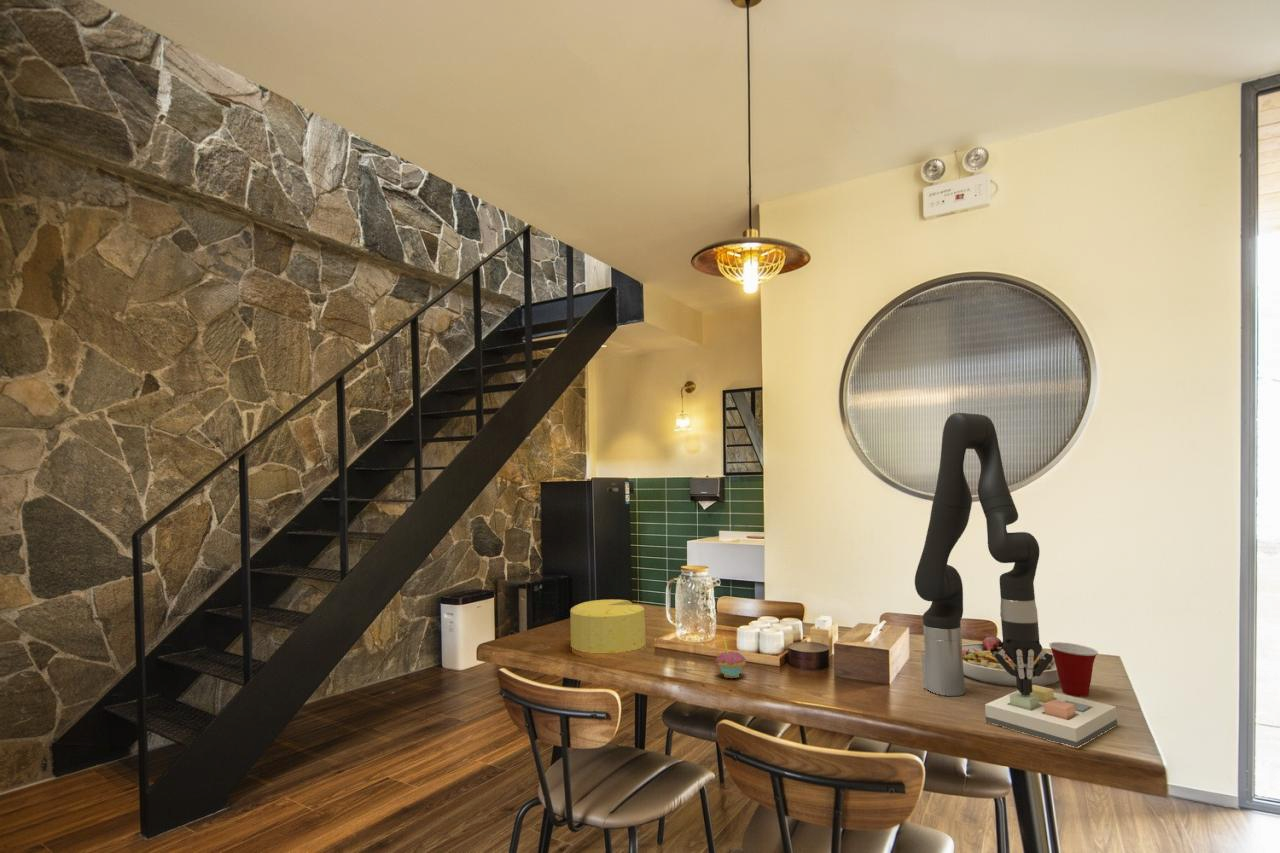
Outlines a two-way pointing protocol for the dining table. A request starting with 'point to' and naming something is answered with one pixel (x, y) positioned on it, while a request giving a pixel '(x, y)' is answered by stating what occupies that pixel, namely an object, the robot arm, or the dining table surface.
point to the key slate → (1080, 707)
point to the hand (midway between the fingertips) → (1025, 694)
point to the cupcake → (730, 661)
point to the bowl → (998, 665)
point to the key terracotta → (1060, 709)
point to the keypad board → (1054, 720)
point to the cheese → (607, 626)
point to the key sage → (1024, 701)
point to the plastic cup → (1074, 667)
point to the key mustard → (1043, 693)
